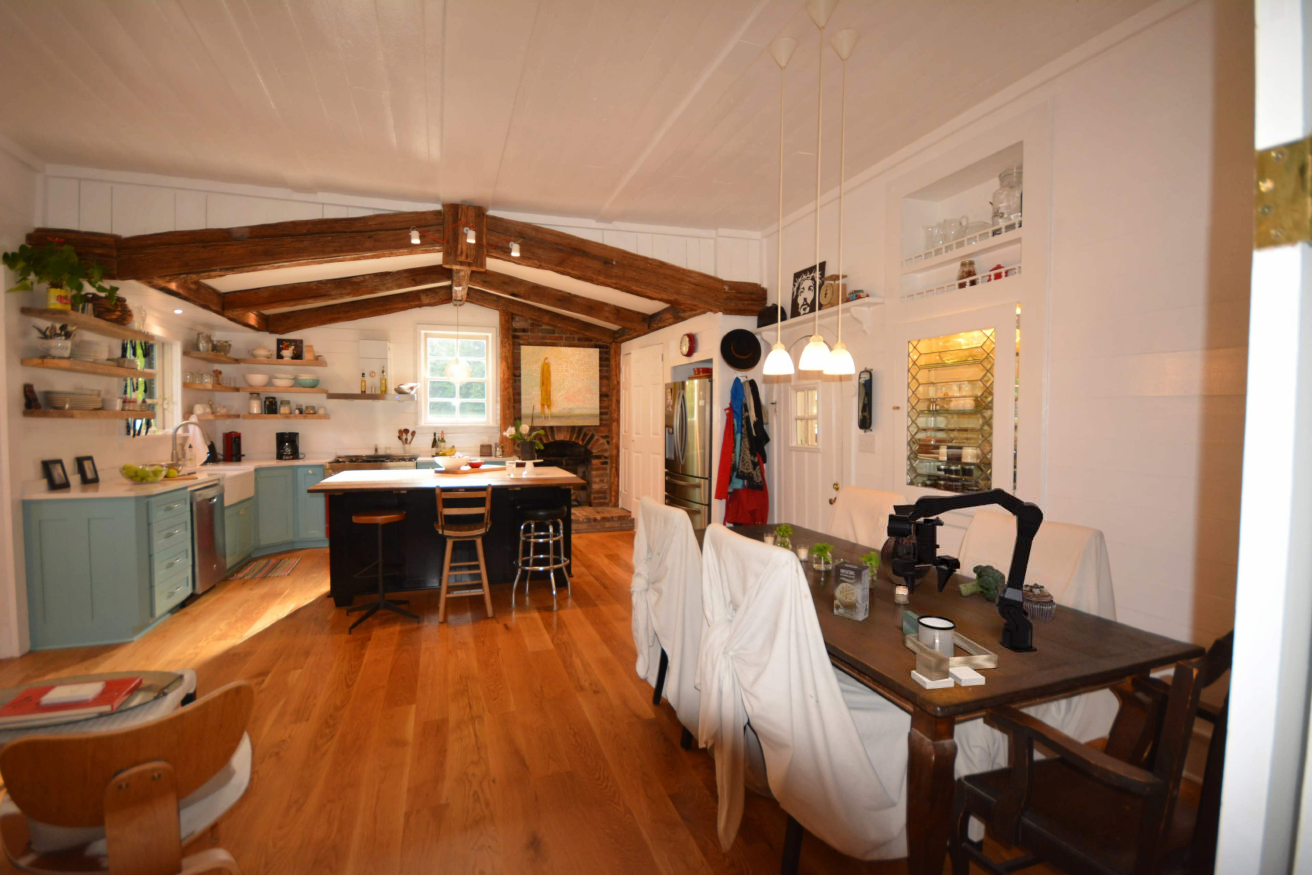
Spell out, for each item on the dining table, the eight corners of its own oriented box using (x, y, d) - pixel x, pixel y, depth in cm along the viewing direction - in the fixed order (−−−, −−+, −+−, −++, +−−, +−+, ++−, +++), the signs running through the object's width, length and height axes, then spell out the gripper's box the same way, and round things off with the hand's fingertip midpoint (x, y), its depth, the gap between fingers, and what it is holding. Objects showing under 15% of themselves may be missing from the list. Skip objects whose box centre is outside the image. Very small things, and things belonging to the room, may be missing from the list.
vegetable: (958, 582, 210) (1001, 568, 204) (972, 615, 201) (1018, 601, 195) (948, 568, 203) (993, 553, 196) (963, 602, 194) (1010, 587, 188)
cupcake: (1043, 624, 175) (1044, 591, 174) (1012, 613, 184) (1013, 582, 183) (1063, 619, 179) (1064, 587, 178) (1031, 609, 188) (1032, 578, 187)
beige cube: (932, 669, 141) (933, 649, 141) (949, 678, 136) (949, 657, 136) (916, 672, 139) (916, 651, 139) (932, 681, 135) (932, 660, 134)
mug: (916, 645, 159) (916, 612, 159) (954, 650, 155) (955, 617, 155) (916, 662, 148) (916, 627, 148) (957, 669, 144) (958, 633, 144)
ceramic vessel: (920, 595, 202) (922, 510, 201) (871, 585, 214) (872, 504, 212) (939, 582, 217) (941, 502, 216) (892, 573, 229) (893, 498, 228)
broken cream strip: (967, 672, 142) (967, 666, 142) (984, 684, 137) (985, 677, 136) (911, 677, 140) (911, 670, 140) (926, 688, 134) (926, 682, 134)
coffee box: (832, 614, 183) (833, 564, 183) (841, 609, 188) (842, 560, 187) (860, 621, 177) (861, 569, 176) (869, 616, 182) (870, 565, 181)
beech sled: (936, 630, 169) (936, 609, 169) (997, 667, 145) (997, 642, 144) (888, 633, 167) (888, 611, 166) (942, 671, 143) (942, 645, 142)
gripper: (936, 532, 177) (936, 582, 178) (880, 535, 174) (880, 587, 175) (961, 540, 166) (961, 593, 167) (902, 543, 163) (902, 598, 164)
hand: (925, 592), depth 168 cm, fingers open, 9 cm apart
